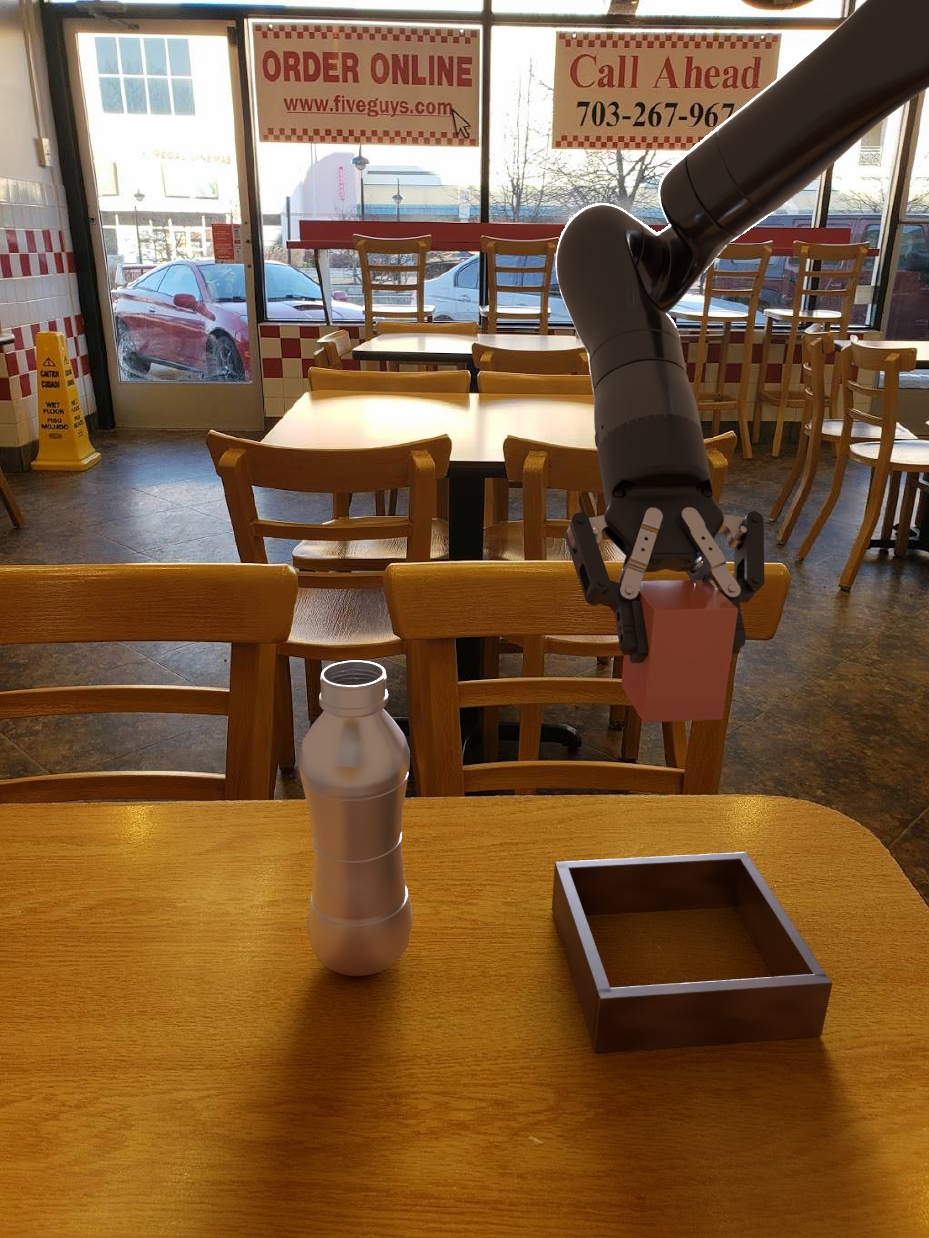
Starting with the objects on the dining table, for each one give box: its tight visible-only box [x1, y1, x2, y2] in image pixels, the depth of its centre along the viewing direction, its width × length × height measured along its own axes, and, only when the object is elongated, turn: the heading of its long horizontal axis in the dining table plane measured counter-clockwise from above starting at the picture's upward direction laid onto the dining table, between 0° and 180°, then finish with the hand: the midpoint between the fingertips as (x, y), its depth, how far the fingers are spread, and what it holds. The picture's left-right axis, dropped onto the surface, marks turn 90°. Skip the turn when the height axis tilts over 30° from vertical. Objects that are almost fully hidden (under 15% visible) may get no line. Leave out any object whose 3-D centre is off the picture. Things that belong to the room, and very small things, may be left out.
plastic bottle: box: [297, 660, 414, 977], centre depth 57 cm, size 6×7×20 cm
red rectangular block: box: [620, 579, 738, 723], centre depth 63 cm, size 6×6×8 cm
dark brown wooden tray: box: [551, 851, 833, 1054], centre depth 59 cm, size 14×13×4 cm
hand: (685, 657), depth 62 cm, fingers closed on red rectangular block, 5 cm apart
